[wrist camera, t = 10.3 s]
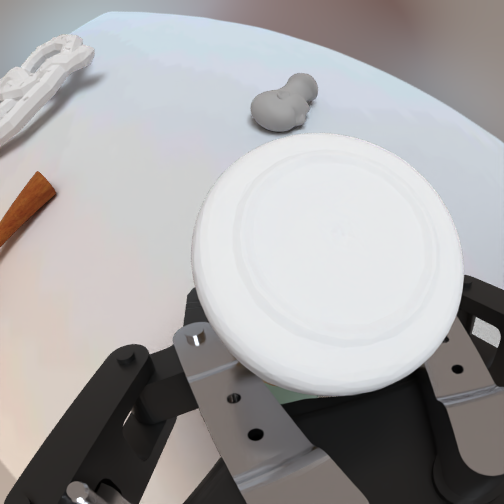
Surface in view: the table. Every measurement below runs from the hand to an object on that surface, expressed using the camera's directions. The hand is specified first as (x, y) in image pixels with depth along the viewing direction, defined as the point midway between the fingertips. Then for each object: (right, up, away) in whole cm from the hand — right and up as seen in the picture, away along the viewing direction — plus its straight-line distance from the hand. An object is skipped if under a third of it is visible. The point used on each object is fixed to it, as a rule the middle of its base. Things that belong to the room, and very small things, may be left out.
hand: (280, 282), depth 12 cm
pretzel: (-37, +24, +23) cm, 50 cm away
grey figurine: (+3, +15, +18) cm, 24 cm away
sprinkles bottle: (+1, -4, +4) cm, 6 cm away
